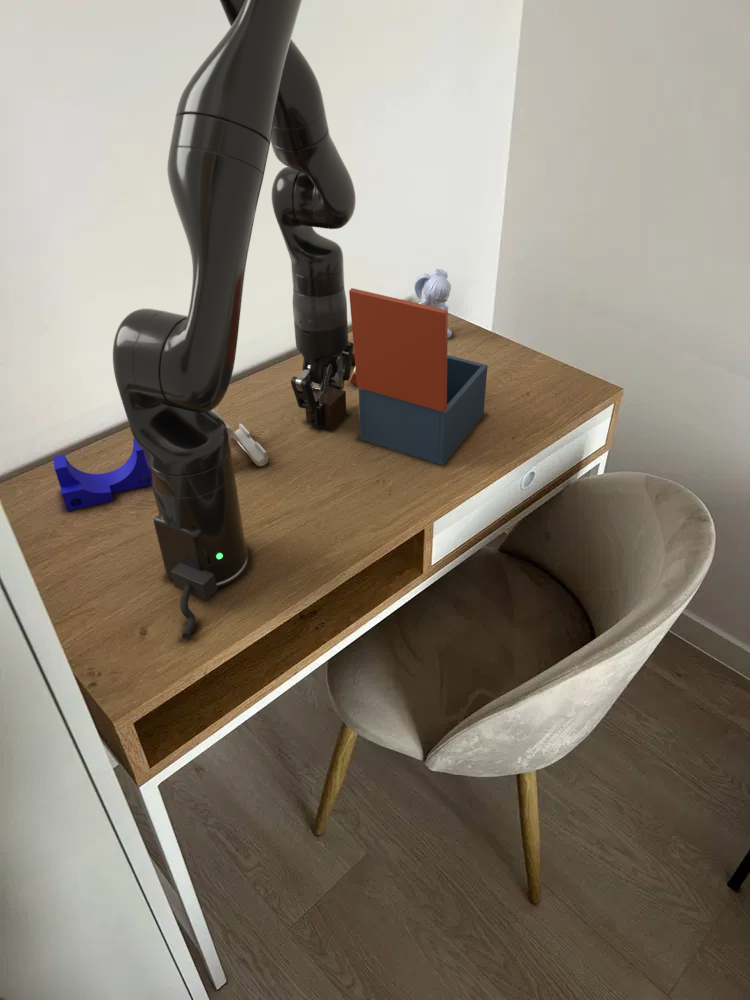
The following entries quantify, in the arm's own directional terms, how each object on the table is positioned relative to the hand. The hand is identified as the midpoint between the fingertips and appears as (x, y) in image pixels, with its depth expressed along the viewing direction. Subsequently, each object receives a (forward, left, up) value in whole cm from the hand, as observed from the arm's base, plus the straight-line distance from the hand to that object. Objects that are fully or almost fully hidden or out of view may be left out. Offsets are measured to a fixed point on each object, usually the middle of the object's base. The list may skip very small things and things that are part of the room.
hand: (326, 417), depth 125 cm
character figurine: (+19, +3, -1) cm, 19 cm away
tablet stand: (-15, +7, -1) cm, 17 cm away
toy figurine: (+32, -3, -1) cm, 32 cm away
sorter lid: (-3, -14, +17) cm, 22 cm away
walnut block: (0, 0, 0) cm, 0 cm away
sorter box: (+5, -14, 0) cm, 15 cm away
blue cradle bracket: (-29, +17, -1) cm, 34 cm away
